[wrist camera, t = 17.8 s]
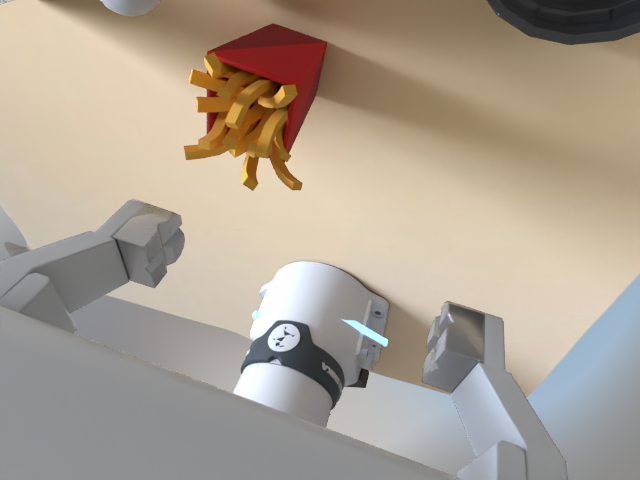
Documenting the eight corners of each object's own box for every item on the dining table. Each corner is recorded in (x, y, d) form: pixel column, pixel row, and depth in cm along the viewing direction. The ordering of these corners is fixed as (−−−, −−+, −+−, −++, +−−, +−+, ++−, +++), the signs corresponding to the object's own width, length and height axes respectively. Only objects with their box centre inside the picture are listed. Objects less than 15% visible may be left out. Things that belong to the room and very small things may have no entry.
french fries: (255, 84, 38) (166, 173, 27) (265, -14, 32) (155, 52, 21) (344, 116, 37) (287, 219, 27) (370, 22, 31) (311, 107, 21)
